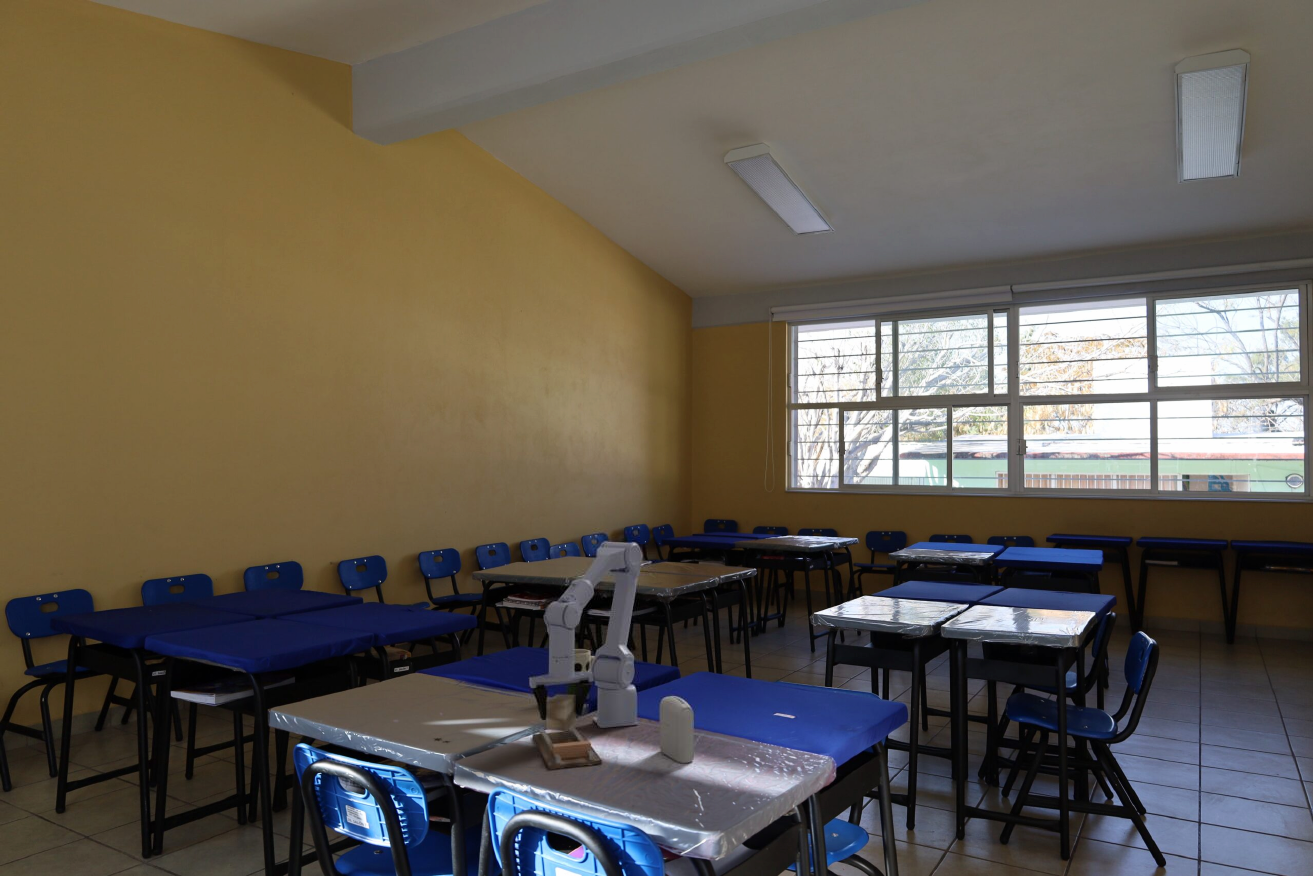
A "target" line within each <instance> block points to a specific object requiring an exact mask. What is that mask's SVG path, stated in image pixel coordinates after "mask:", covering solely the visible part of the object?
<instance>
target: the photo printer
mask: <svg viewBox="0 0 1313 876" xmlns="http://www.w3.org/2000/svg"><path fill="white" fill-rule="evenodd" d="M694 720H695V719H694V710H693V709H692V707H691V706H690V704H689V703H688V702H687V701H686V700H684V699H683V698H681V697H679V696H675V695H670V696H666V697H663V698H662V699H661V701H660V703H659V749H660V751H661V752H662V753H663V754H665V755H666V756H668V757H669V758H670V759H672V760H674V761H676V762H678V763H681V764H687V763H691V762H693V760H695V759H694V758H695V739H694V738H695V737H694V735H695V729H694V728H695V727H694V726H695V725H694V724H695V723H694Z"/></svg>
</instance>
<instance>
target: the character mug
mask: <svg viewBox="0 0 1313 876" xmlns="http://www.w3.org/2000/svg"><path fill="white" fill-rule="evenodd" d="M591 653H592V652H591V650H589V649H583V648H577V649H576V648H574V672H587V671H590V670H591V665H592V662H593V660H594V658H595V655H591ZM566 685H567V686H566V693H565V695H576V693H575V684H574V683H566ZM589 693H590V692H589ZM589 693H588V695H587V697H586V700H588V699H589V698H590V694H589Z"/></svg>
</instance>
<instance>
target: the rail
mask: <svg viewBox="0 0 1313 876" xmlns="http://www.w3.org/2000/svg"><path fill="white" fill-rule="evenodd" d="M538 729H539V733H538V734H539V735H540V736H541V738H542V740H543V742H544V743H545V745H546V747H547V749H548V750H549V752H550V754H551V756H552V752H553V751H552V744H553V743H552V742H551V740H550V738H549V737H548V735H547V733H548V732H547V731H546V730H545V728H538ZM577 730H578V729H576V727H575V726H574V725H571V726H570V727H569V728H568V731H569V732H570V733H571V735H572V736H573V738H574V739H575V740H576V742H581V741H584V739H583V738H582V737H581V735H580V734H579V733H578V731H577ZM553 756H554V761H555V763H556V764H561V757H560V755H559V753H554V755H553ZM586 756H587V758H588V759H589V760H594V753H593V752H592V750H586Z"/></svg>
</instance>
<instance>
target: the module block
mask: <svg viewBox="0 0 1313 876" xmlns="http://www.w3.org/2000/svg"><path fill="white" fill-rule="evenodd" d="M546 713H547V716H546V720H545V729H546V730H548V731H549V730H550V731H568V730H569V727H570V726H574V724H575V723H576V722H577V714H576V695H566V694H559V693H557V694H555V695H554V696H552V697H551V698H549V699H547V703H546Z"/></svg>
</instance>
